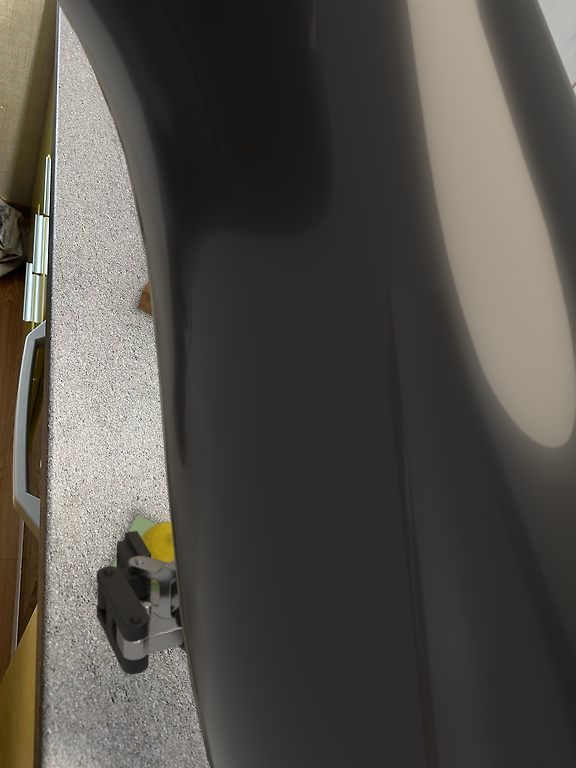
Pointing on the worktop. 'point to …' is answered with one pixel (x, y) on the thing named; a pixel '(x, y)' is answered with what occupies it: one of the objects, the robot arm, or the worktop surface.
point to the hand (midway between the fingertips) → (194, 535)
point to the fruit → (160, 542)
